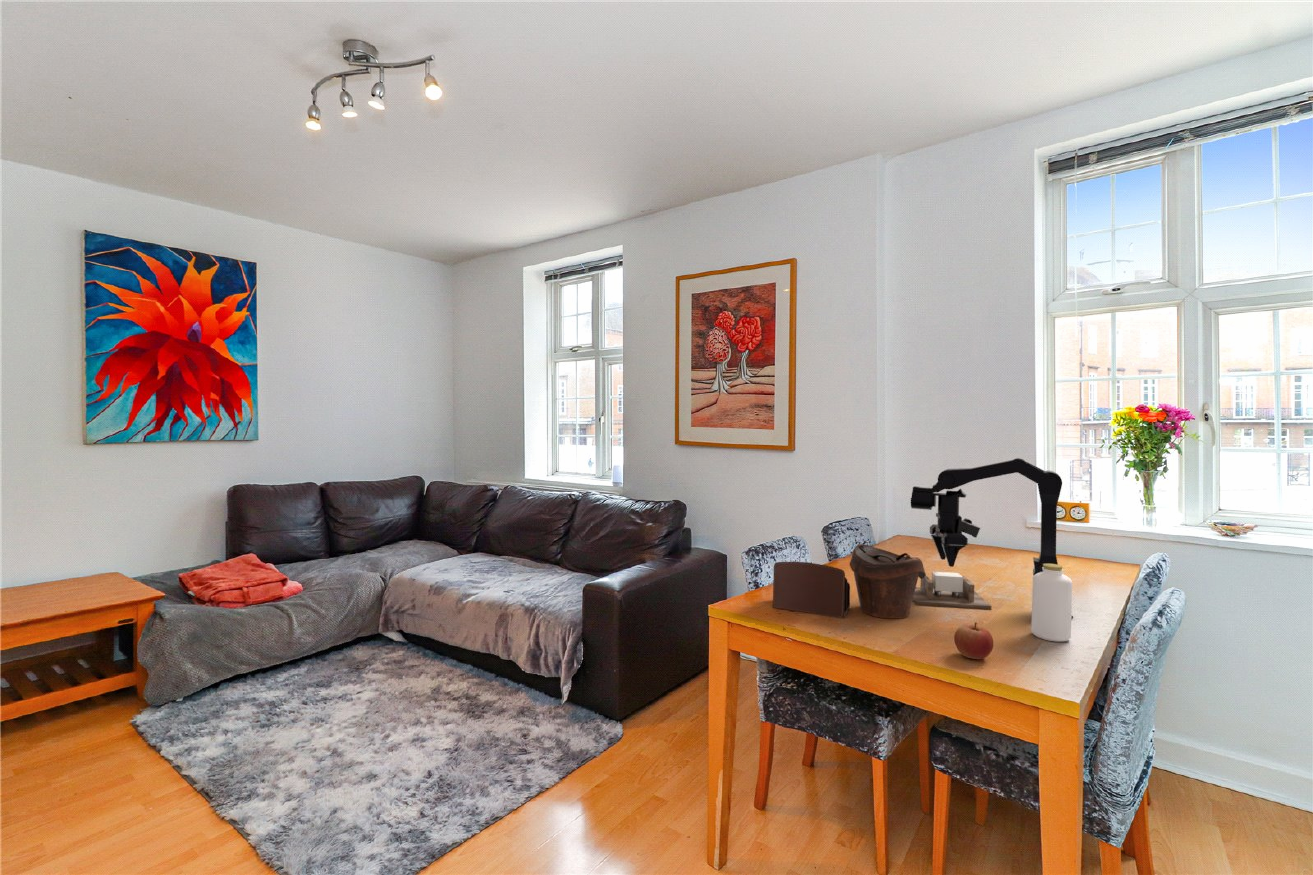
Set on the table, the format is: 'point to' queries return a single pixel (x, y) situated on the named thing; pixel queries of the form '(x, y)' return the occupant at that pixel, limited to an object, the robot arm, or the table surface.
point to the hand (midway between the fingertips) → (947, 563)
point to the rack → (949, 596)
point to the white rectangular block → (947, 581)
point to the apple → (973, 641)
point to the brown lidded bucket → (885, 581)
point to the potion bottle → (1052, 604)
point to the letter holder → (811, 589)
